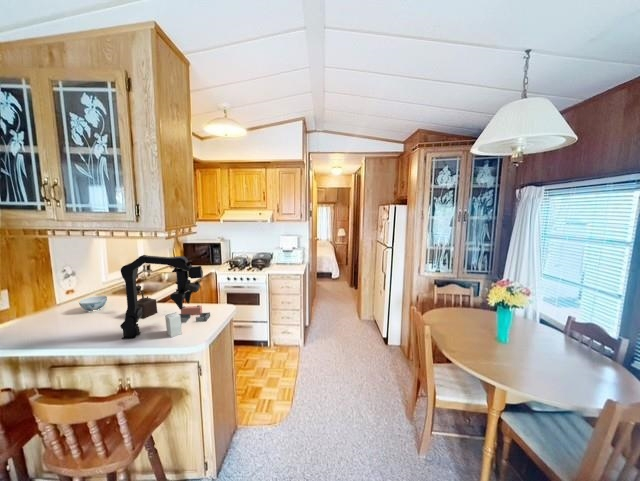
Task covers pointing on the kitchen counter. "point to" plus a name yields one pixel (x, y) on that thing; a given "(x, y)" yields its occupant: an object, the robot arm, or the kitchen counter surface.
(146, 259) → the robot arm
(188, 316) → the shallow metal tray
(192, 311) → the link
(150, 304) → the dark brown boxy piece
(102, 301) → the chinaware
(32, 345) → the kitchen counter surface
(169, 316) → the small box
